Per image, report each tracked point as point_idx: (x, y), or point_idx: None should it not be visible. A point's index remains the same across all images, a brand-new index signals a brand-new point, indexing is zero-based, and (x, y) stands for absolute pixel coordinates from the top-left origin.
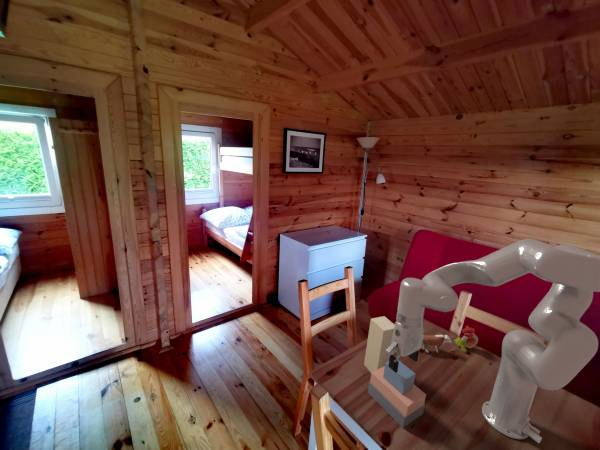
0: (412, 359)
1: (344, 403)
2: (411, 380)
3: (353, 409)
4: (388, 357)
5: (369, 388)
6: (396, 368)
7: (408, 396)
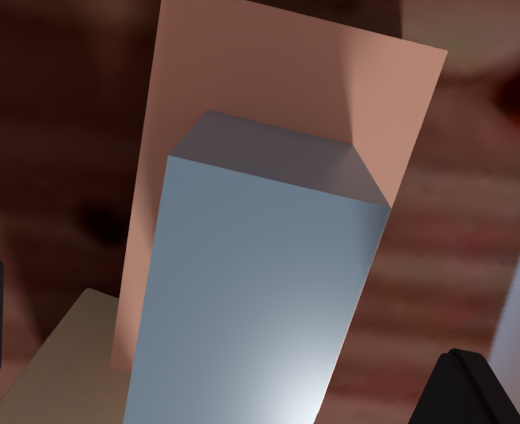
0: (2, 307)
1: (482, 352)
2: (243, 149)
3: (485, 304)
4: (58, 405)
5: None
6: (510, 413)
7: (326, 98)
